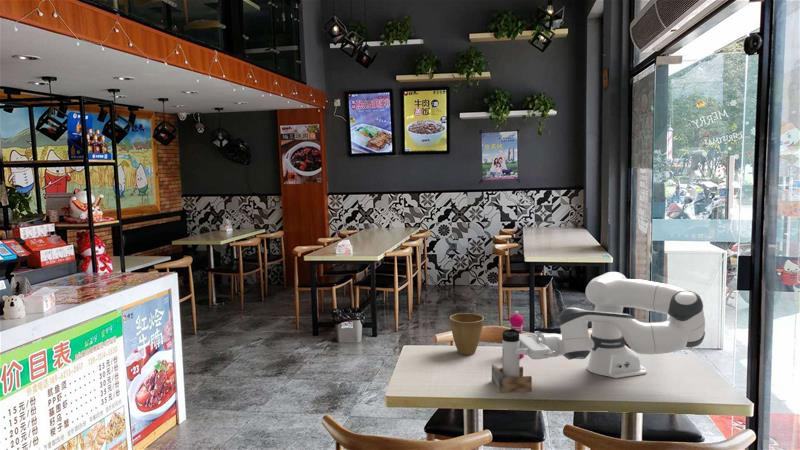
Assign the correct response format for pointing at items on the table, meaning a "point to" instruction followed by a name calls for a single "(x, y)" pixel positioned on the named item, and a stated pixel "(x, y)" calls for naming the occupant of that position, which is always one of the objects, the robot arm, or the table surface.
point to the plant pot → (466, 331)
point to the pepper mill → (517, 325)
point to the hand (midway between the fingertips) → (510, 347)
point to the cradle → (511, 381)
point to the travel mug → (510, 353)
